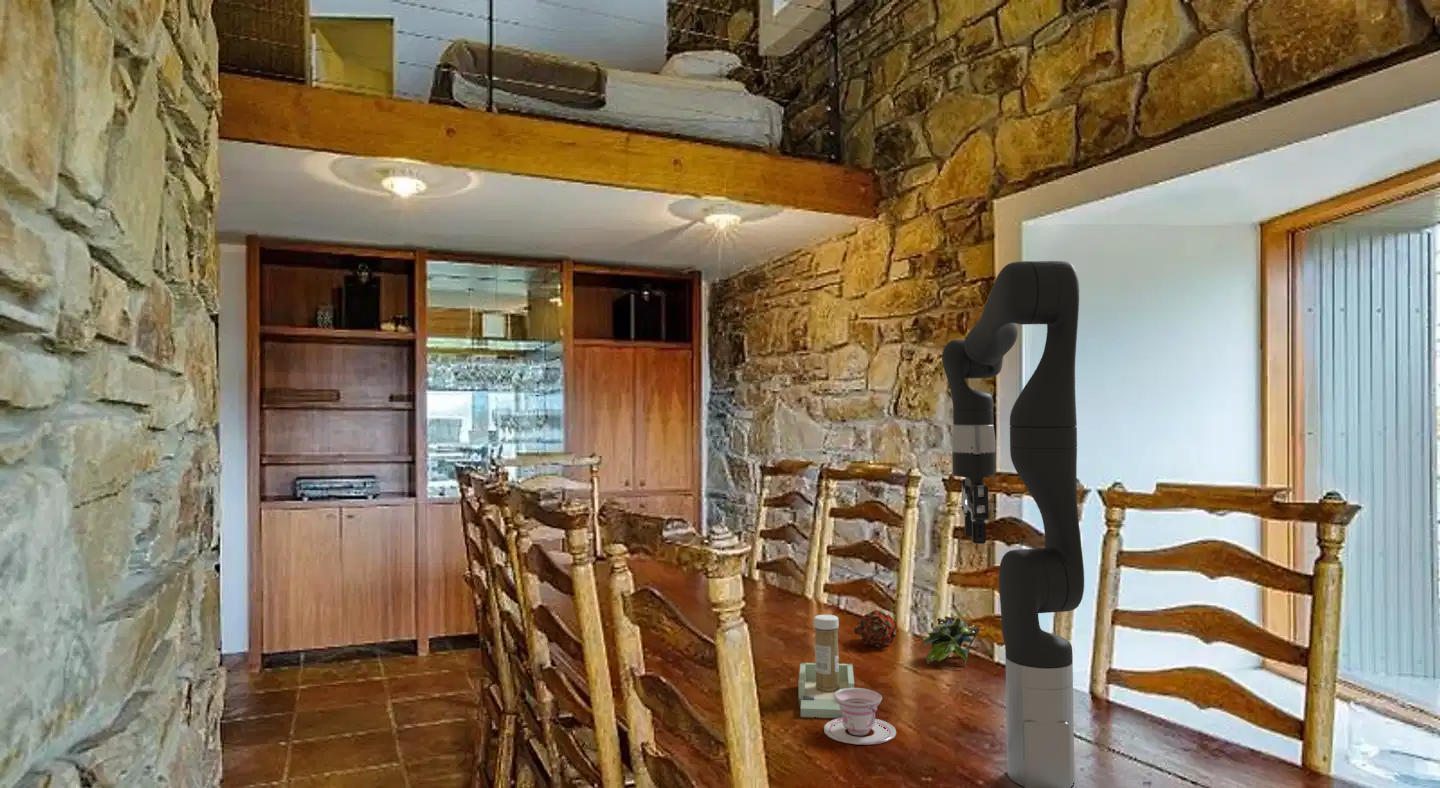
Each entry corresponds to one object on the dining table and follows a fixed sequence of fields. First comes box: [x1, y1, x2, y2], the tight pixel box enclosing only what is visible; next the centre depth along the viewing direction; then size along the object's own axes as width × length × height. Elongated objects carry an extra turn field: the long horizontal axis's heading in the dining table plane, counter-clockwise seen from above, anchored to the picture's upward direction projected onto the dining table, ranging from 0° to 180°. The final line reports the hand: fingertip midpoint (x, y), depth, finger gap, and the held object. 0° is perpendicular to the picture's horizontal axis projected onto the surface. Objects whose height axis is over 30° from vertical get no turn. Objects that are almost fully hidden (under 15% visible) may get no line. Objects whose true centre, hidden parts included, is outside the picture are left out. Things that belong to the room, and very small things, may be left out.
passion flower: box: [922, 616, 980, 668], centre depth 185 cm, size 11×11×12 cm
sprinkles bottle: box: [813, 614, 840, 692], centre depth 164 cm, size 5×5×14 cm
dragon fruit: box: [853, 609, 897, 649], centre depth 199 cm, size 8×8×12 cm
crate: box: [798, 662, 855, 719], centre depth 161 cm, size 17×10×4 cm, turn 173°
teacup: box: [823, 687, 897, 746], centre depth 146 cm, size 12×12×6 cm
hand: (975, 539), depth 158 cm, fingers open, 8 cm apart
